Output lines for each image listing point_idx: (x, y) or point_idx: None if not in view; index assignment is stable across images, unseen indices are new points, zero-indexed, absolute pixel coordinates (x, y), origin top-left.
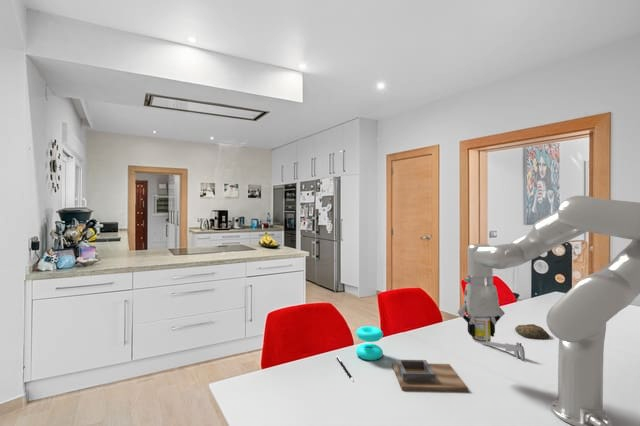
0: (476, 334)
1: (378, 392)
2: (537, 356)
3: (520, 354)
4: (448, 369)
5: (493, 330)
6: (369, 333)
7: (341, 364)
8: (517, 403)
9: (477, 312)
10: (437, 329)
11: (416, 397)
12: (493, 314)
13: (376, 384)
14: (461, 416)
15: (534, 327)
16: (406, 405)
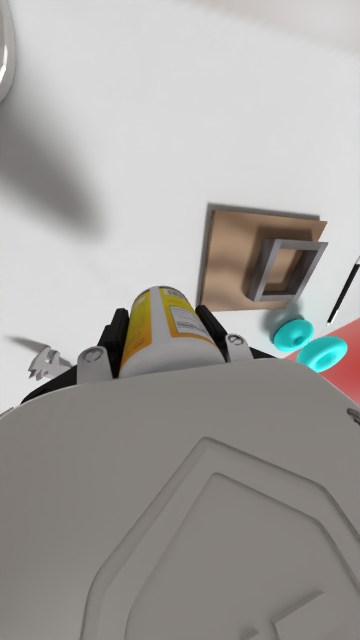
0: (192, 308)
1: (356, 215)
2: (12, 364)
3: (46, 356)
4: (212, 291)
5: (114, 321)
6: (341, 346)
7: (340, 303)
8: (119, 132)
9: (273, 392)
10: None
11: (316, 190)
12: (79, 401)
13: (339, 245)
14: (291, 68)
15: None
16: (354, 154)
